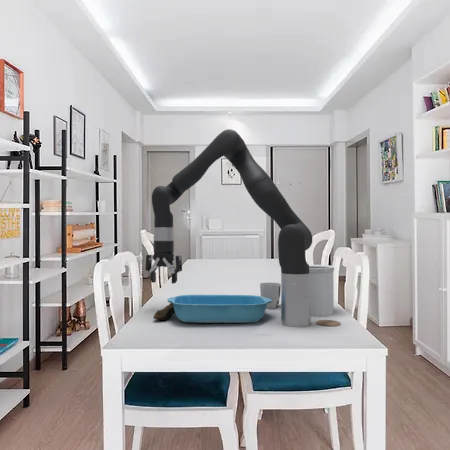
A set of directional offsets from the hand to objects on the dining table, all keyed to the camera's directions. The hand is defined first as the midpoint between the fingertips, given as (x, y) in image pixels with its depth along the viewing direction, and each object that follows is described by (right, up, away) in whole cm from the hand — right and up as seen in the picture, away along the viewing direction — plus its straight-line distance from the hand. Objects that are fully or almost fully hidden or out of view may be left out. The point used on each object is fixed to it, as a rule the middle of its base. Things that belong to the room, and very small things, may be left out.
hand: (163, 282), depth 158 cm
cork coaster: (+57, -11, -19) cm, 61 cm away
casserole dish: (+21, -12, -9) cm, 26 cm away
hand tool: (-2, -10, +1) cm, 10 cm away
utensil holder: (+56, -11, -2) cm, 57 cm away
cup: (+41, -11, +6) cm, 43 cm away
